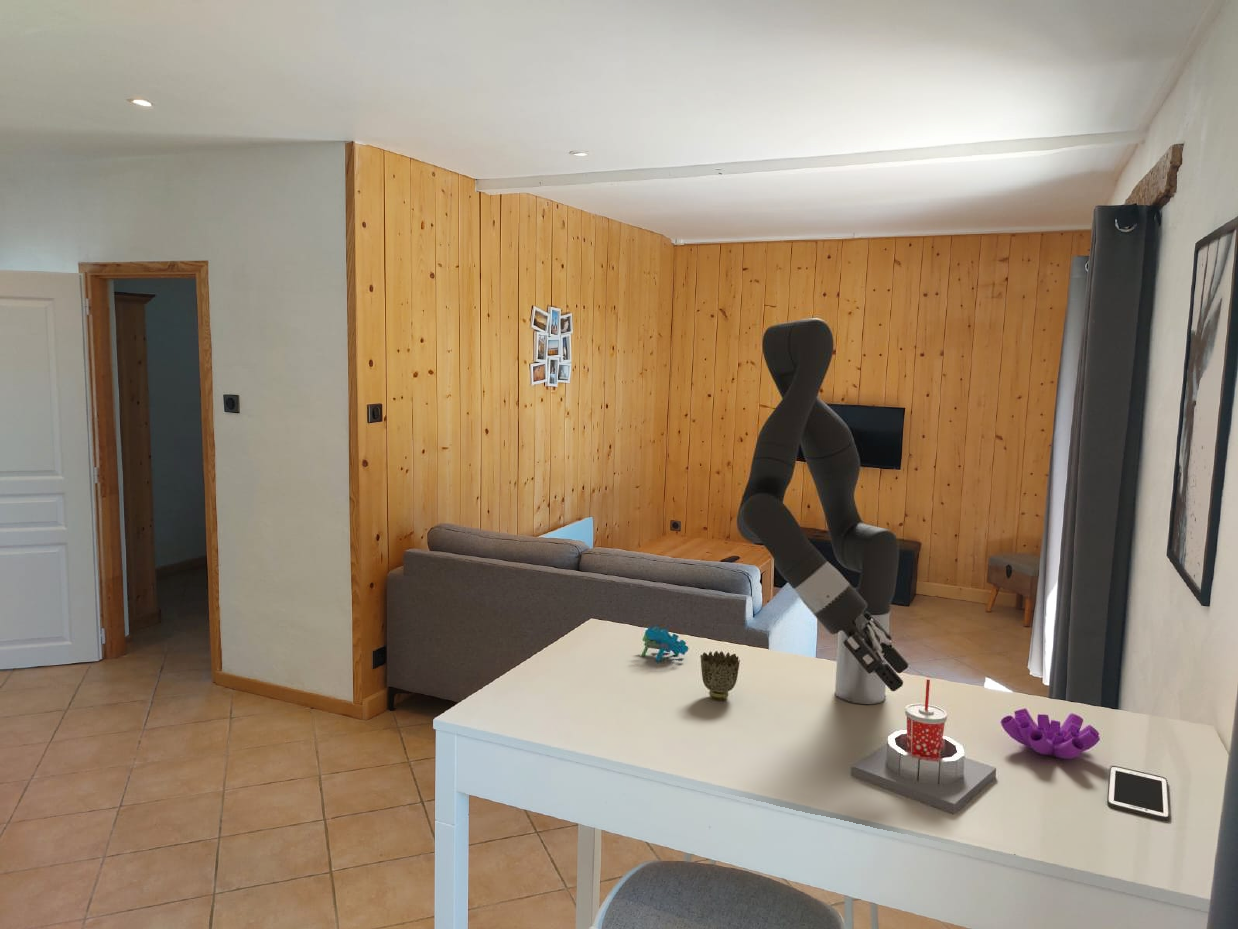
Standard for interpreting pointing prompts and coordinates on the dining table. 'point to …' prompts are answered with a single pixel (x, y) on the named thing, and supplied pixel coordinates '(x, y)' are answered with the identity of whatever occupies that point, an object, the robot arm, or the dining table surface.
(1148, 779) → the cell phone
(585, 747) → the dining table surface
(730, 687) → the cup
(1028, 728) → the purple tube coral
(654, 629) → the blue toy figure
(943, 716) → the beverage cup
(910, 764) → the collar
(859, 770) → the flange board
